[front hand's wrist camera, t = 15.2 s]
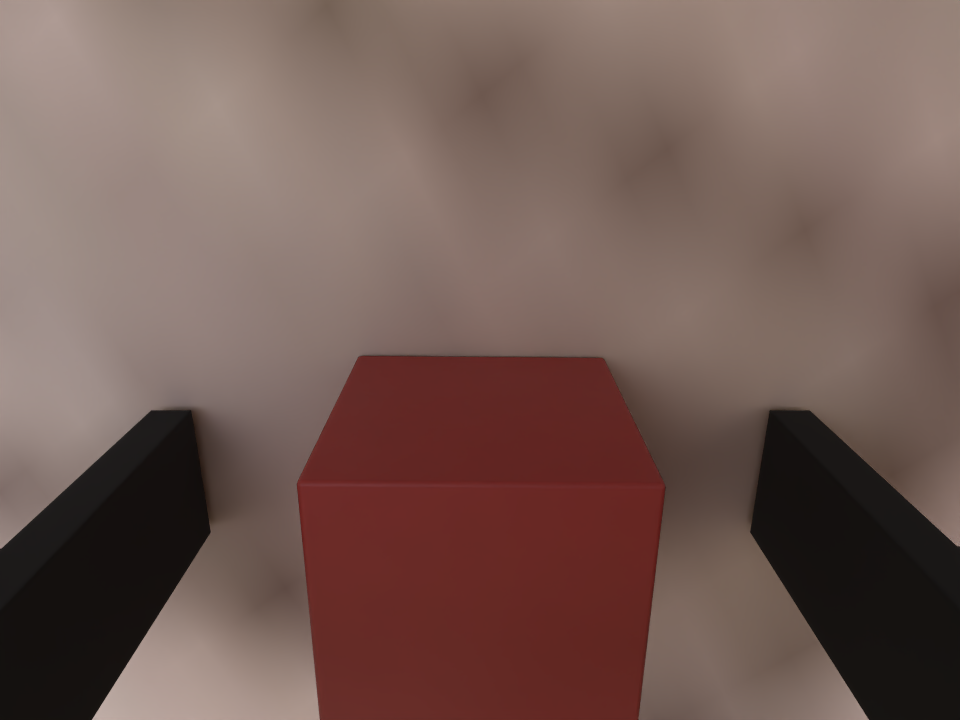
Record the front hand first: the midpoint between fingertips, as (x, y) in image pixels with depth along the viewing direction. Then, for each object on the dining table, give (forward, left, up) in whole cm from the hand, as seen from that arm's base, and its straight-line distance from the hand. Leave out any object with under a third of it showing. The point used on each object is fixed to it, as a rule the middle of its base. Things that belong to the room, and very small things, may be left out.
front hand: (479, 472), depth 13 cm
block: (0, 0, 0) cm, 0 cm away
